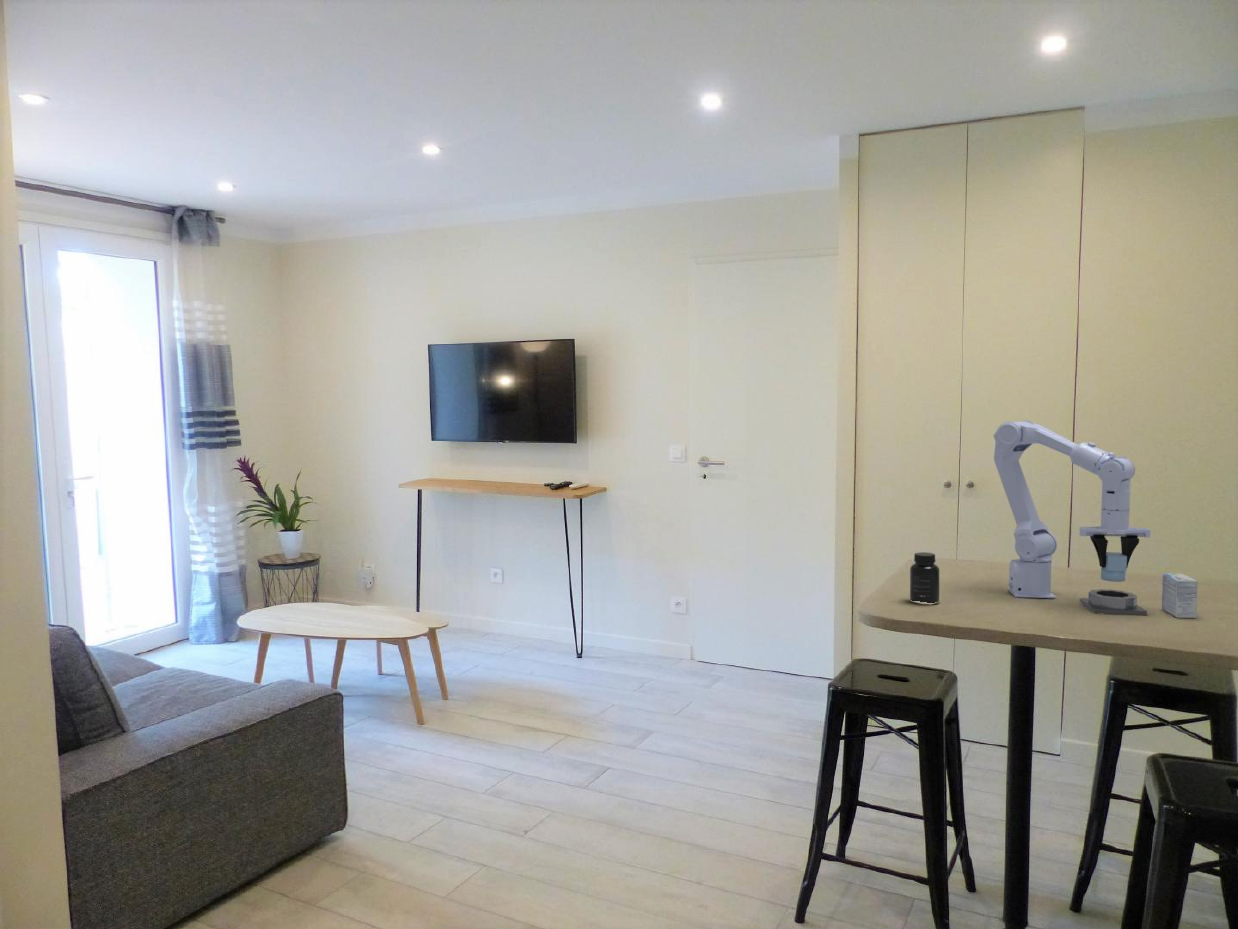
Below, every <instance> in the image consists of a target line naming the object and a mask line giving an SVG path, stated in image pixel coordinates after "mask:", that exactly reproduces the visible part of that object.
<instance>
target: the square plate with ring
mask: <svg viewBox="0 0 1238 929" xmlns="http://www.w3.org/2000/svg"><path fill="white" fill-rule="evenodd" d="M1078 600H1079V601H1080V602H1081V603H1082V604H1083V605H1082V604H1081V603H1080V602H1079V603H1080V604H1081V605H1082V606H1084V607H1085V608H1086V607H1087V608H1086V609H1088V610H1089V611H1090V612H1091V613H1093V614H1094V613H1099V614H1100V613H1104V614H1103V615H1122V614H1126V615H1125V616H1147V615H1148V610H1146V609H1145V608H1143V607H1141V606H1140V605H1138V604H1137V602H1138V601H1137V600H1138V595H1136V594H1135V593H1133V592H1129V591H1125V590H1118V589H1109V588H1108V589H1106V588H1105V589H1103V588H1101V589H1092V590H1089V591H1088V597H1087V598H1086V597H1085V598H1084V597H1079V599H1078ZM1100 615H1101V614H1100Z"/></svg>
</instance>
